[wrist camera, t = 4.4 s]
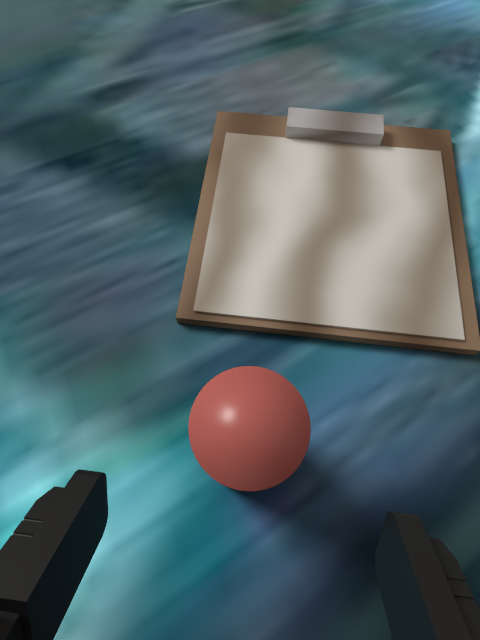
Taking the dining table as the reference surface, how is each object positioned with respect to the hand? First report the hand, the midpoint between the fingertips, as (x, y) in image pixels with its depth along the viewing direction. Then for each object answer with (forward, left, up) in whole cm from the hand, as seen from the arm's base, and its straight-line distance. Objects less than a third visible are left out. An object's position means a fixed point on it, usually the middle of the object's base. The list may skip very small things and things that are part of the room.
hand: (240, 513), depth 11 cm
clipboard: (+4, +19, -10) cm, 21 cm away
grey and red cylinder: (0, +3, -10) cm, 10 cm away
